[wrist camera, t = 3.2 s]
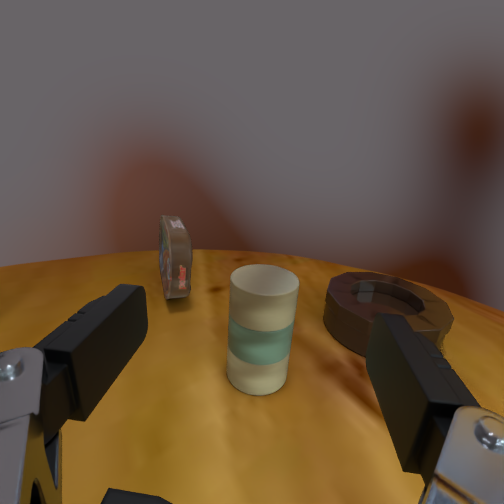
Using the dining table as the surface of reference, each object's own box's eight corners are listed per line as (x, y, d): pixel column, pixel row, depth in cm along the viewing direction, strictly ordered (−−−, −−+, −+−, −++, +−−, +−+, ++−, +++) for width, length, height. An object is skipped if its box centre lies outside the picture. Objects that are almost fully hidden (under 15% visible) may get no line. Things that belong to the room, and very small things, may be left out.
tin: (158, 261, 45) (155, 208, 42) (179, 259, 46) (177, 207, 43) (167, 314, 32) (164, 242, 29) (195, 310, 33) (195, 240, 30)
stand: (314, 343, 29) (320, 309, 28) (330, 291, 40) (335, 264, 38) (452, 383, 25) (467, 345, 24) (429, 314, 36) (438, 285, 34)
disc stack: (215, 382, 24) (218, 284, 21) (241, 344, 28) (246, 259, 25) (276, 405, 22) (289, 302, 19) (293, 361, 27) (305, 272, 23)
